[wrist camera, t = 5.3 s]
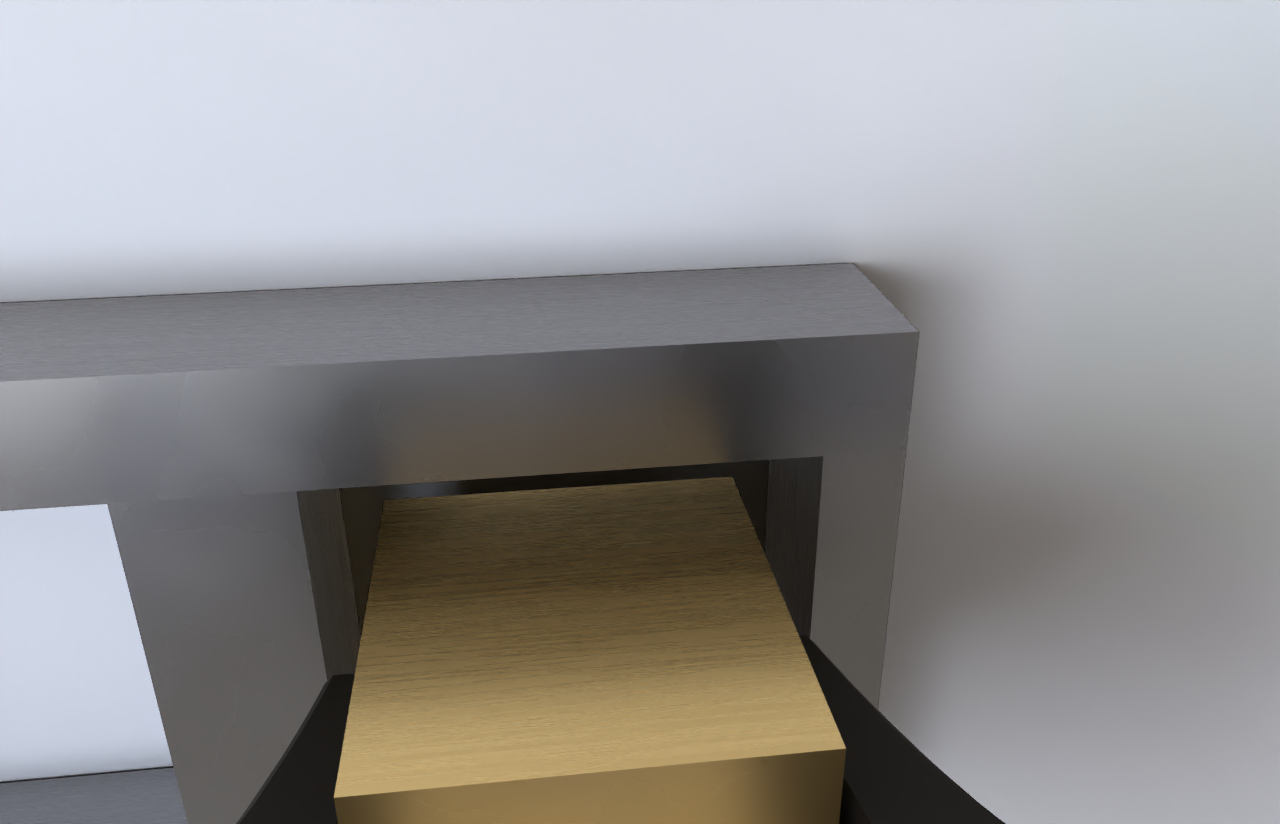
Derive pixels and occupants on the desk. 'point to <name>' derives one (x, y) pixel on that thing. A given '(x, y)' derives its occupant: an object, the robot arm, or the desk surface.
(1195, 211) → the desk surface
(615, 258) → the desk surface
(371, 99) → the desk surface
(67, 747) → the desk surface
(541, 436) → the grey metal flat frame
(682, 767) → the nut block
